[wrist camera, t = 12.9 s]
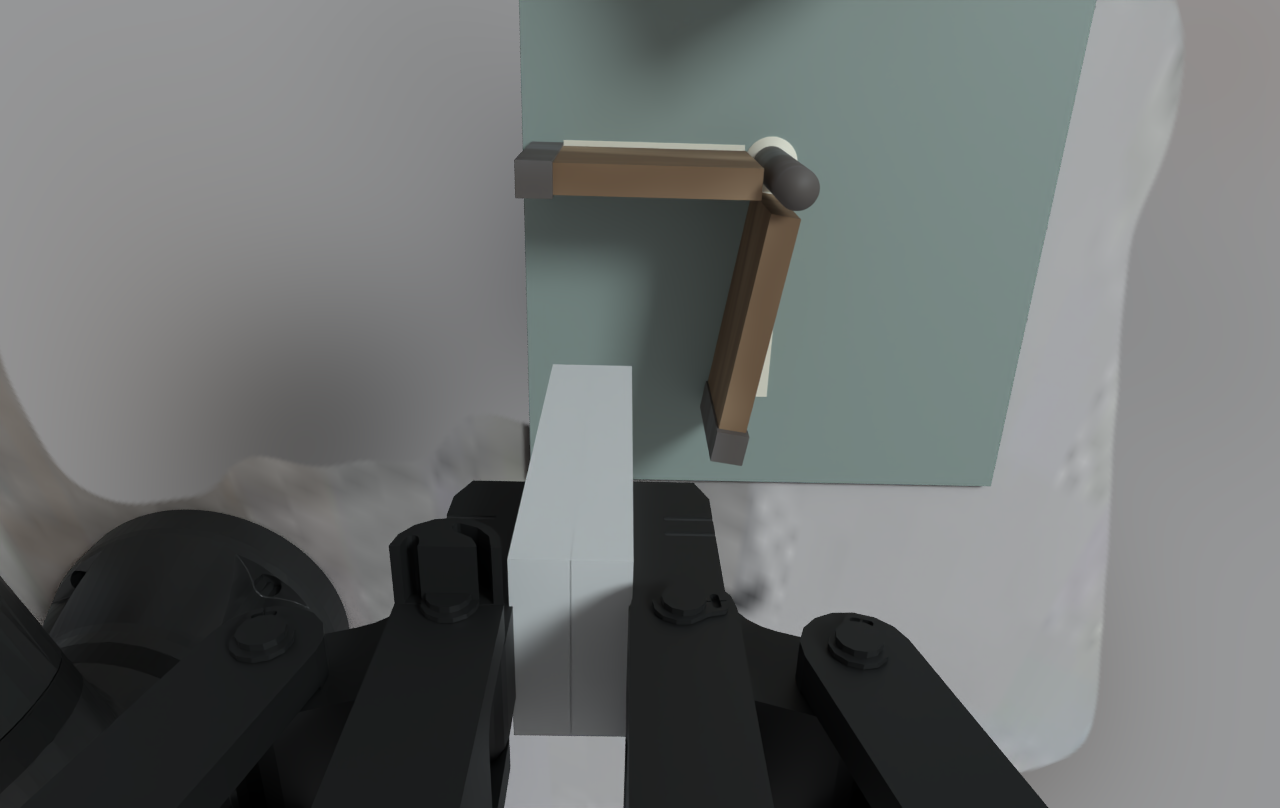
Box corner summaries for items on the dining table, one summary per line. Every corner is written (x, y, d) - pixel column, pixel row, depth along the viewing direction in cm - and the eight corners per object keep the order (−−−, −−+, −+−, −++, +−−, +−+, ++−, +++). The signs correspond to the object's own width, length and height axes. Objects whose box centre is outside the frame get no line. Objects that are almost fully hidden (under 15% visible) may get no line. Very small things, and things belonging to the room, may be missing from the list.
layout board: (987, 482, 45) (991, 486, 44) (531, 473, 44) (530, 477, 44) (1097, -26, 35) (1102, -27, 35) (519, -45, 35) (517, -47, 34)
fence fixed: (785, 181, 39) (817, 211, 32) (533, 174, 38) (513, 203, 32) (788, 145, 38) (822, 168, 31) (532, 138, 38) (512, 159, 31)
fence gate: (699, 406, 42) (710, 461, 37) (750, 190, 38) (770, 215, 32) (727, 411, 42) (741, 465, 37) (780, 195, 38) (805, 221, 33)
